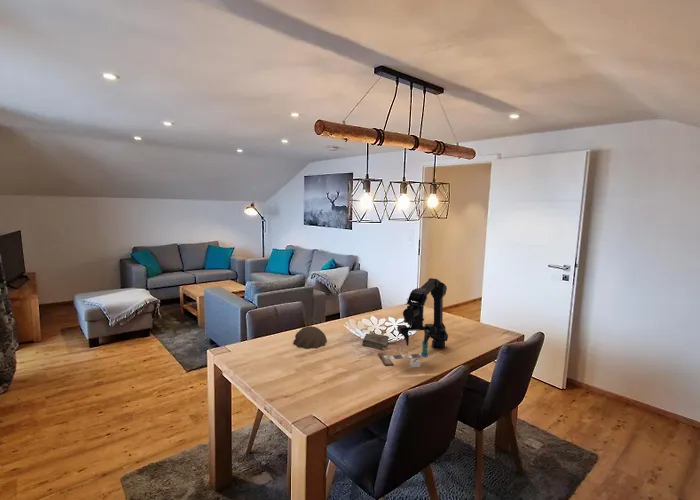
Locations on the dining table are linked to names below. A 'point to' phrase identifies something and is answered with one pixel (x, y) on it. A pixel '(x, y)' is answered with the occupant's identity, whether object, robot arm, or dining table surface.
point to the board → (396, 357)
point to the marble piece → (376, 341)
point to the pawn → (424, 349)
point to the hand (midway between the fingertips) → (415, 345)
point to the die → (414, 362)
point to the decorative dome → (310, 338)
